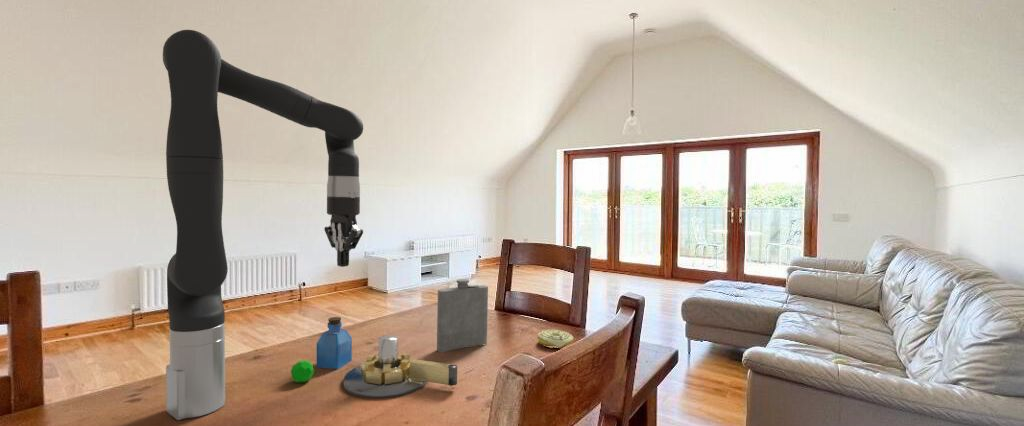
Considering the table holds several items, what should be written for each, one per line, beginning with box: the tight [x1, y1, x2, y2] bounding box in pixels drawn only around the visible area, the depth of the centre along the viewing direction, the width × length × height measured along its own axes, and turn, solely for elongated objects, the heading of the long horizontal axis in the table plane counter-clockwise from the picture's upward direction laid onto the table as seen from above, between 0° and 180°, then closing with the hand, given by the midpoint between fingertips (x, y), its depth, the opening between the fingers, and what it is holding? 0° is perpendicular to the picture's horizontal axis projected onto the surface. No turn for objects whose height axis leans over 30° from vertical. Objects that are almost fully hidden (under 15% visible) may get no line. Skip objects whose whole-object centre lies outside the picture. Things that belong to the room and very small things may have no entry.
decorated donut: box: [537, 329, 574, 350], centre depth 136 cm, size 10×11×4 cm
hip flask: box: [436, 278, 489, 353], centre depth 132 cm, size 16×4×20 cm, turn 121°
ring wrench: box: [360, 352, 458, 387], centre depth 106 cm, size 24×12×4 cm, turn 73°
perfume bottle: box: [316, 316, 353, 370], centre depth 117 cm, size 6×6×12 cm
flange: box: [343, 334, 429, 399], centre depth 107 cm, size 20×20×10 cm
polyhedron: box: [290, 359, 315, 384], centre depth 106 cm, size 5×5×5 cm
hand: (343, 266), depth 109 cm, fingers closed
